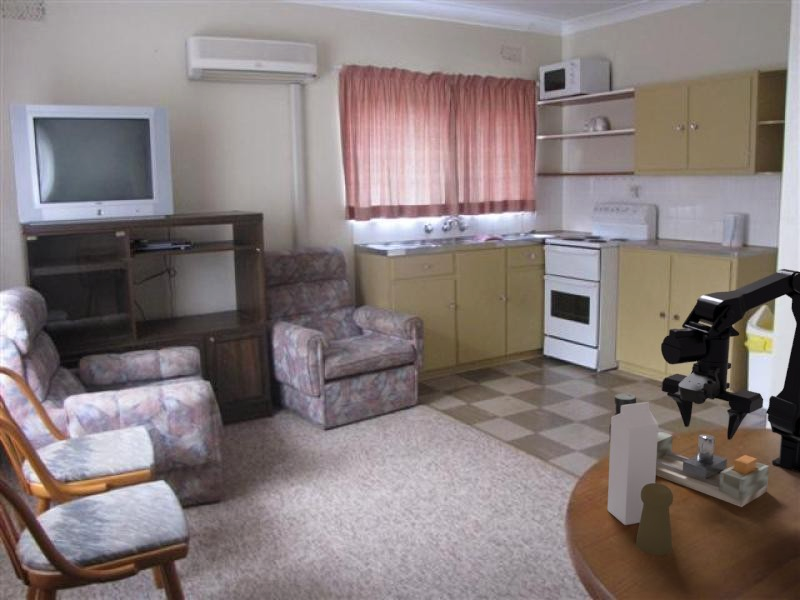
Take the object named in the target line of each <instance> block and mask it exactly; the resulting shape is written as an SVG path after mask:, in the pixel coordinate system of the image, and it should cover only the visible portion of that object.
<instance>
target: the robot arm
mask: <svg viewBox="0 0 800 600" xmlns="http://www.w3.org/2000/svg"><path fill="white" fill-rule="evenodd" d="M783 296H787V297H789V298H790V299H791V307H790V309H791V312H792V315H793V318H794V320H795V323H796V324H795V330H794V336H793V339H792V345H791V348H790V353H789V359H788V363H787V368H786V374H785V379H784V383H783V384H784V385H783V388H782V390H781V391H780V392H779V393H778V394H777V395H776V396H775V395H771V396H770V397H769V401H768V407H767V410H766V412H765V413H766V414H767V421H768V422H769V424H770V427H771V432H772V433H773V434H777V435H779V436H780V442H779V443H780V444H779V455H778V457H777V458H775V459H773V460H771V464H772V465H776V466H779V467H782V468H786V469H789V470H791V471H795V472H798V473H800V271H798V270H793V269H787V268H781V269H779V270H777V271H775V273H772V274H770V275H768V276H765V277H763V278H760V279H758V280H755V281H753V282H751V283H749V284H746V285H744V286H742V287H739V288H737V289H734V290H730V291H716V292H711V293H706V294H703V295H701V296H699V297H698V298H697V299H696V303H695V305H694V307H693V308H692V309H691V311H690V312H689V314H688V316H687V317H686V319H685V320H684V322H683V323H682V326H681V327H682V328H670V329H669V330H668V331H669V333H668V335H666V336H665V337H664V339H663V340H662V343H661V345H660V349H661V350H660V351H661V355H662V358H663V359H664V361H665V362H666V363H667V364H669V365H679V364H680V365H681V364H688V363H693V364H692V368H691V369H692V370H691V372H690V373H689V374H687V375H685V374H681V373H674V374H671V375H669V376H666V377H664V378H663V379H662V382H661V389H660V390H661V392H665V393H666V395H667V397H670V398H671V399H672V400H673V401H674V402H675V403H676V405H677V407H678V410H679V413H680V417H681V419H682V422H683V426H684V427H685V428H688V427H689V426H690V424H691V420H692V412H693V405H694V404H695V405H702V404H704V403H705V402H706V400H708V399H710V400H715V399H717V400H720V401H725V402H728V406H729V409H727V410H726V412H727V415H728V424H727V431H726V433H727V435H726V436H727V440H728V441H731V440H732V439H733V438H734V436H735V435H736V432H737V431H738V429H739V428H740V426H741V423H742V422H743V421H744V419H745V418H746V416H747V415H748V414H752V413H754V412H755V411H758V410H760V409H762V408H763V407H764V398H763V396H762V394H761V393H759V392H756V391H752V390H747V389H741V390H738V391H736V392H731V391H727V389H728V390H729V388H731V386H730V385H731V384H730V382H728V370H729V369H731V368H732V363H731V362H729V355H730V354H729V353H730V341H731V338H733V337H739V336H740V331H738V330H737V329H735V328H734V327H733V326H734V325H735V324H737V323H738V322H740V321H742V320H743V318H744V316H745V314H746V313H747V312H749V311H750V310H753V309H755V308H758V307H760V306H762V305H764V304H766V303H768V302H771V301H774V300H776V299H778V298H781V297H783ZM706 324H707V325H706Z"/></svg>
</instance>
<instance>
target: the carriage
mask: <svg viewBox="0 0 800 600" xmlns="http://www.w3.org/2000/svg"><path fill="white" fill-rule="evenodd" d="M715 440H716V437H715V436H713V435H711V434H700V435H698V444H697V454H696V455H694V456H692V457H689V458H690V459H688V460H685V461H683V471H685V472H688V473H690V474H693V475H696V476H699V477H702V478H705V479H706V478H708V477H710V476H712V475H714V474H716V473H718V472H720V471H722V470H726V469H727V466H728V465H727V464H728V458H726V457H722V456H719V455H716V454H714V453H715V442H716V441H715Z"/></svg>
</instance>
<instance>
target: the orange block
mask: <svg viewBox="0 0 800 600" xmlns="http://www.w3.org/2000/svg"><path fill="white" fill-rule="evenodd" d="M757 462H758V458H755V457H753V456H749V455H747V454H744V455H742V456H739V457H738V458H736V459H734V463H733V465H734V471H736V472H739V473H742V474H745V475H748V474H750V473H752V472H753V471H755V470H756V464H757Z"/></svg>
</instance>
